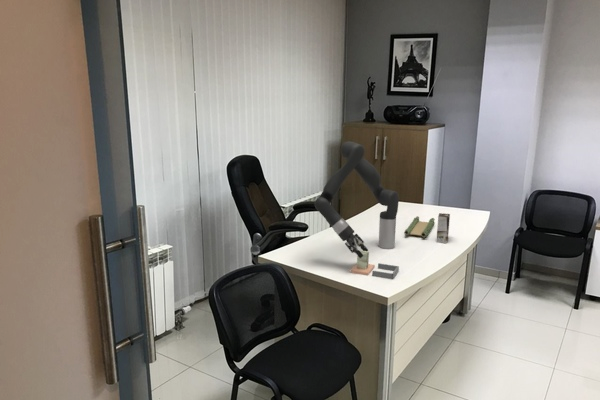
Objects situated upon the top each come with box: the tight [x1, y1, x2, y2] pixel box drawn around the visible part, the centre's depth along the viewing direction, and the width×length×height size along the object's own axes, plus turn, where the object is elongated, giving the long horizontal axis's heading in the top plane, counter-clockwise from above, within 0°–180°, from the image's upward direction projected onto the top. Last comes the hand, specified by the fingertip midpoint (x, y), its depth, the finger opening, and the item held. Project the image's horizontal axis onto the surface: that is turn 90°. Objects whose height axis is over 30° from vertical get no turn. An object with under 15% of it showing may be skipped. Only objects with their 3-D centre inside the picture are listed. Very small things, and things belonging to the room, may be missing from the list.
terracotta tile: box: [349, 263, 376, 276], centre depth 226 cm, size 12×9×1 cm
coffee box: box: [435, 213, 451, 244], centre depth 271 cm, size 9×6×16 cm
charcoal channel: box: [371, 262, 400, 280], centre depth 221 cm, size 12×10×2 cm
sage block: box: [356, 249, 370, 270], centre depth 225 cm, size 4×4×8 cm
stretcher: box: [404, 215, 436, 238], centre depth 293 cm, size 41×14×5 cm, turn 156°
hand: (364, 254), depth 224 cm, fingers open, 8 cm apart
